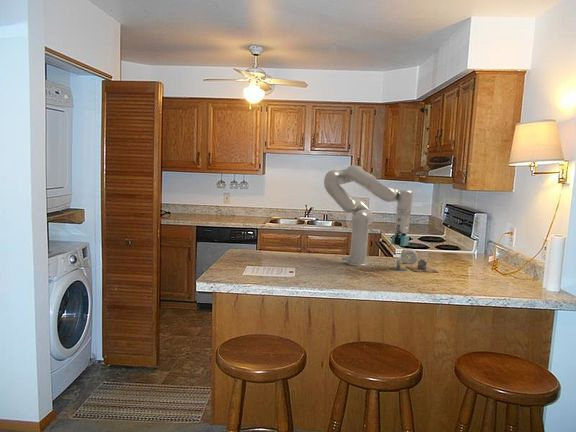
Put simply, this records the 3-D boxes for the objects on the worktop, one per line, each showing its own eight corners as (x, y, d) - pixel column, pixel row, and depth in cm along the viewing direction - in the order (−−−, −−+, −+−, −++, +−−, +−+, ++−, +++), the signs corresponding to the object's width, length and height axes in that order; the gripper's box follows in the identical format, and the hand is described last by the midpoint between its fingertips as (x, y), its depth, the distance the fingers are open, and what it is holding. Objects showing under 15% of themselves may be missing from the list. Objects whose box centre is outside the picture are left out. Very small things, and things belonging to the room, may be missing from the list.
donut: (415, 264, 265) (417, 248, 264) (417, 266, 262) (419, 249, 261) (399, 263, 265) (400, 247, 264) (400, 265, 262) (402, 248, 261)
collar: (403, 246, 238) (404, 237, 238) (391, 243, 242) (392, 235, 242) (408, 245, 244) (409, 236, 244) (395, 242, 248) (396, 234, 248)
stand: (393, 272, 239) (394, 262, 238) (386, 268, 249) (387, 258, 248) (410, 273, 241) (411, 262, 240) (402, 269, 250) (403, 258, 250)
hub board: (414, 273, 240) (415, 261, 239) (405, 268, 252) (406, 256, 251) (438, 274, 242) (439, 262, 242) (427, 269, 254) (429, 257, 253)
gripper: (404, 213, 232) (400, 246, 234) (415, 212, 246) (411, 243, 248) (390, 212, 236) (387, 244, 238) (402, 211, 251) (399, 241, 252)
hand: (399, 243), depth 243 cm, fingers closed on collar, 7 cm apart
